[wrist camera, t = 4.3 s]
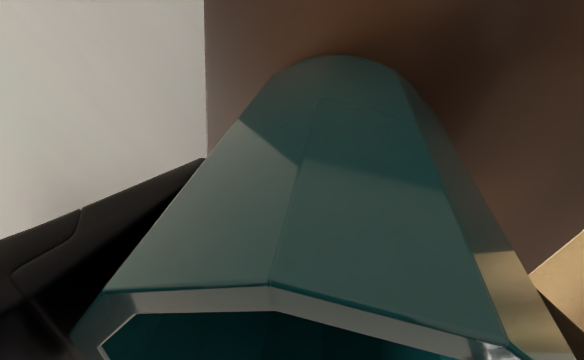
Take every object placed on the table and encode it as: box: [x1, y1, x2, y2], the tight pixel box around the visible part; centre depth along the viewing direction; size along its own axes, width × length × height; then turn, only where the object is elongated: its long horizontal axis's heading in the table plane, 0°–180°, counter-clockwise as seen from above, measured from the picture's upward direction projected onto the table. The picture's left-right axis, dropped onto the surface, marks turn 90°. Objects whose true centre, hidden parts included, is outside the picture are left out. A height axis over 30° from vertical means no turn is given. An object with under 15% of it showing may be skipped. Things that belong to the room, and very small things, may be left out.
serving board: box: [204, 0, 584, 332], centre depth 11 cm, size 24×15×1 cm, turn 80°
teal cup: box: [68, 55, 577, 360], centre depth 7 cm, size 7×7×8 cm
